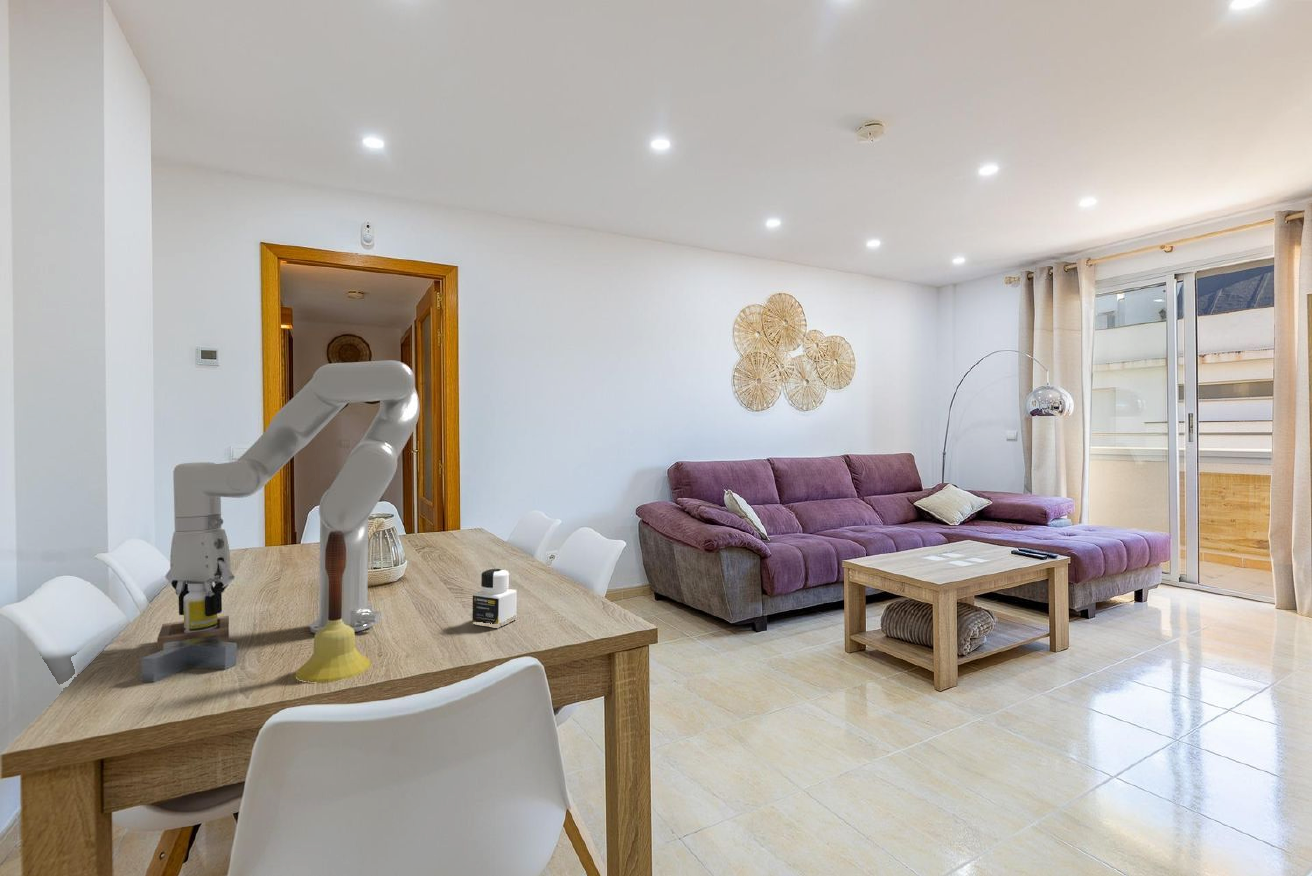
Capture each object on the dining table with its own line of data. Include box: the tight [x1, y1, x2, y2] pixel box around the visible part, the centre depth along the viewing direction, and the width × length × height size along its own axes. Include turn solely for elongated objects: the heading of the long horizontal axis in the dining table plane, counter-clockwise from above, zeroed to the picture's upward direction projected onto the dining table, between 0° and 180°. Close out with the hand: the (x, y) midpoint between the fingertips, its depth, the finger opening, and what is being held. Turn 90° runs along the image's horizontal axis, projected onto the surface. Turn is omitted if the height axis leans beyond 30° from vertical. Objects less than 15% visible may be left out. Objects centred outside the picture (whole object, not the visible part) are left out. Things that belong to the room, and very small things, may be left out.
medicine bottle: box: [471, 568, 518, 624], centre depth 139 cm, size 7×7×12 cm
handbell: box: [294, 531, 371, 684], centre depth 110 cm, size 12×12×25 cm
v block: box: [141, 635, 238, 683], centre depth 110 cm, size 9×13×4 cm
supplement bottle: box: [183, 582, 218, 633], centre depth 122 cm, size 5×5×10 cm
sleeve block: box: [156, 615, 230, 653], centre depth 122 cm, size 11×11×4 cm
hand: (200, 612), depth 122 cm, fingers closed on supplement bottle, 5 cm apart
